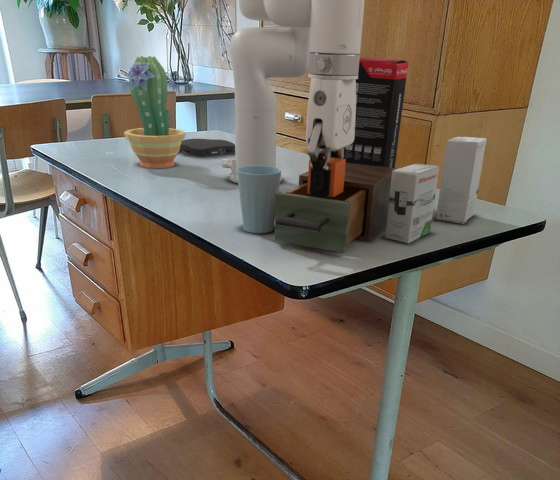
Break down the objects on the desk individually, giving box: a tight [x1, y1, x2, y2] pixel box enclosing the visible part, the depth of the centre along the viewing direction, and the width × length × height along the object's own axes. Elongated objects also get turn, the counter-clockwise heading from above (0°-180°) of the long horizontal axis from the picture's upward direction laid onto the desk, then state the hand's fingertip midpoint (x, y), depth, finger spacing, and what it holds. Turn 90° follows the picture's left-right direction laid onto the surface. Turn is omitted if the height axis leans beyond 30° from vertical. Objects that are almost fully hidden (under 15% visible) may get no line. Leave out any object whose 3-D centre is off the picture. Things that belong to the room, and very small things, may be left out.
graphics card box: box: [319, 56, 409, 168], centre depth 121 cm, size 17×7×27 cm, turn 59°
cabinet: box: [298, 163, 398, 242], centre depth 109 cm, size 16×14×10 cm
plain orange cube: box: [307, 157, 346, 197], centre depth 96 cm, size 5×5×5 cm
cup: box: [237, 165, 282, 234], centre depth 104 cm, size 8×8×10 cm
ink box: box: [384, 163, 440, 244], centre depth 103 cm, size 9×5×12 cm, turn 141°
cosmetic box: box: [435, 136, 488, 225], centre depth 114 cm, size 8×6×15 cm
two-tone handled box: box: [274, 182, 369, 254], centre depth 98 cm, size 20×12×8 cm, turn 154°
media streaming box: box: [178, 138, 235, 158], centre depth 170 cm, size 15×15×3 cm
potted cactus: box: [123, 55, 186, 169], centre depth 148 cm, size 15×15×25 cm
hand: (325, 190), depth 97 cm, fingers closed on plain orange cube, 4 cm apart
